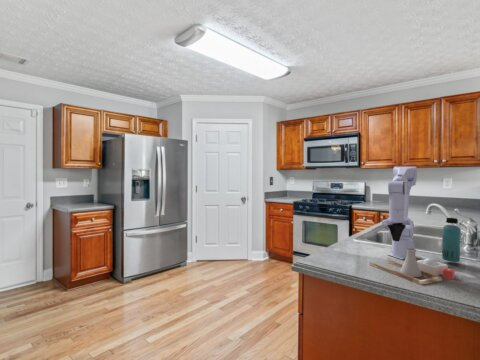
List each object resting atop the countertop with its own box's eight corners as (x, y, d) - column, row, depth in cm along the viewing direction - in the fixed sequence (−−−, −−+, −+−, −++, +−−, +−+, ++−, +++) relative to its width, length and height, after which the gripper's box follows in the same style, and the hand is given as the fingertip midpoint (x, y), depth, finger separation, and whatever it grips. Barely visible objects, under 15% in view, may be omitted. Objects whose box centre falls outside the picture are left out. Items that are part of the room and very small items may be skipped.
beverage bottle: (457, 262, 127) (459, 217, 126) (462, 266, 121) (463, 219, 120) (440, 260, 130) (441, 216, 129) (443, 264, 124) (444, 218, 123)
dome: (428, 267, 118) (428, 255, 118) (441, 270, 113) (441, 259, 113) (420, 268, 116) (420, 256, 116) (432, 272, 111) (432, 260, 111)
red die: (445, 275, 110) (445, 267, 110) (454, 277, 108) (454, 269, 108) (442, 277, 108) (443, 269, 108) (452, 279, 106) (452, 271, 106)
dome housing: (427, 267, 120) (427, 259, 120) (447, 273, 112) (447, 264, 112) (414, 269, 117) (414, 261, 117) (433, 276, 109) (433, 267, 109)
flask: (395, 272, 114) (396, 247, 113) (410, 270, 115) (411, 246, 115) (410, 278, 107) (411, 252, 106) (426, 277, 108) (427, 251, 108)
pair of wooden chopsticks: (388, 262, 126) (388, 259, 126) (441, 280, 105) (441, 277, 105) (369, 264, 122) (369, 262, 122) (421, 284, 101) (421, 281, 101)
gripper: (399, 207, 128) (399, 237, 129) (376, 208, 122) (375, 240, 123) (415, 209, 122) (414, 241, 122) (391, 210, 116) (390, 244, 116)
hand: (395, 240), depth 122 cm, fingers closed
